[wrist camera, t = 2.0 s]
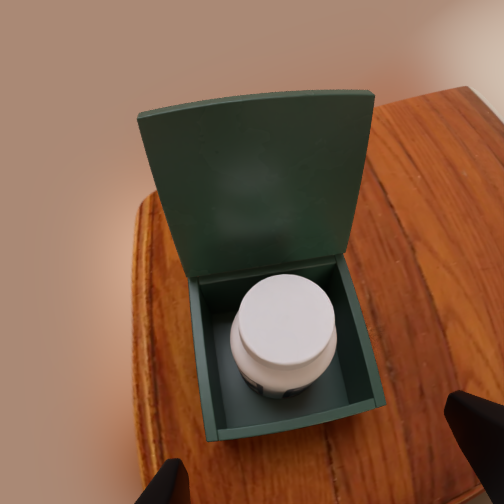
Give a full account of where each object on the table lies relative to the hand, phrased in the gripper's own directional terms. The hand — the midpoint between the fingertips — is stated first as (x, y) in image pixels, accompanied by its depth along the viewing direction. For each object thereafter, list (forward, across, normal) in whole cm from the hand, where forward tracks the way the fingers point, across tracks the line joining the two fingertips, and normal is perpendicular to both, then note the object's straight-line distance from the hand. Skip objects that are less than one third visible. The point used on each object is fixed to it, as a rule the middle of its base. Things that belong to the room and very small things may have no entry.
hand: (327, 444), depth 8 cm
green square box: (+12, 0, +5) cm, 13 cm away
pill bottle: (+11, 0, +4) cm, 12 cm away
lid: (+8, 0, -7) cm, 10 cm away
